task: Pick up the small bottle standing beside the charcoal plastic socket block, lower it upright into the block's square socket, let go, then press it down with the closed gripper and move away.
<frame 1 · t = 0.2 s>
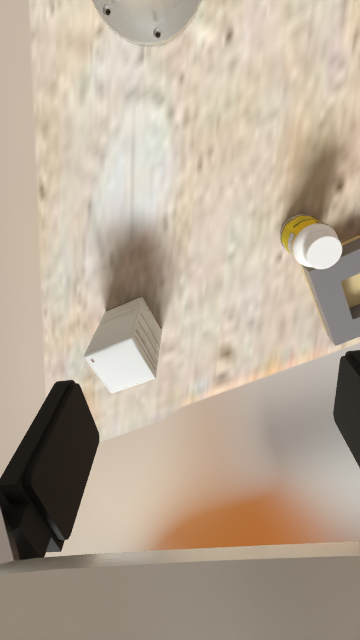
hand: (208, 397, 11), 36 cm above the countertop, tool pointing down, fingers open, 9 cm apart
supplement bottle: (297, 232, 44), on the countertop
socket block: (358, 280, 47), on the countertop
supplement box: (134, 320, 52), on the countertop
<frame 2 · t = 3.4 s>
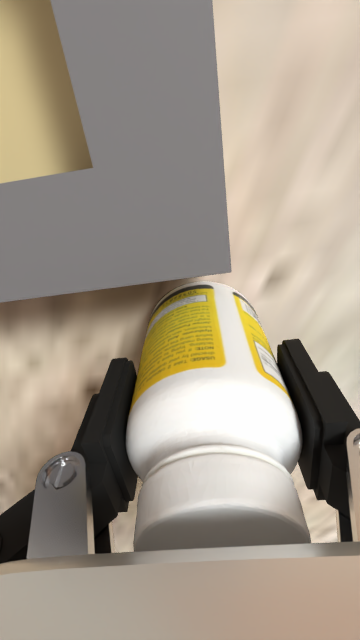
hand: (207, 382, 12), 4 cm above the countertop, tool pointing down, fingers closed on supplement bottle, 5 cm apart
supplement bottle: (202, 326, 15), on the countertop, touching gripper
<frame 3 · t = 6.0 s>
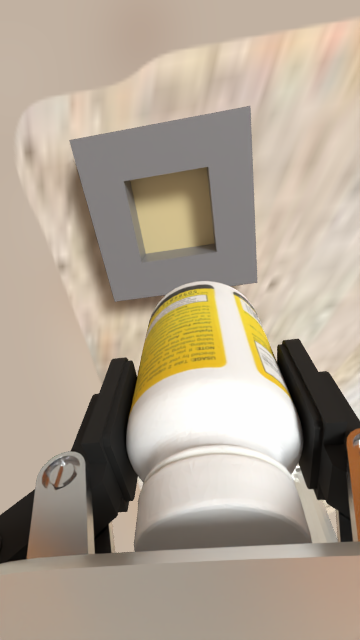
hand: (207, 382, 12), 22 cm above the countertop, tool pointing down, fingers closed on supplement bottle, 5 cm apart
supplement bottle: (203, 326, 15), point 18 cm above the countertop, touching gripper
socket block: (174, 211, 30), on the countertop
when the fingers open (5 cm above the countertop, at t = 8.8 s): supplement bottle stays where it is, resting on socket block.
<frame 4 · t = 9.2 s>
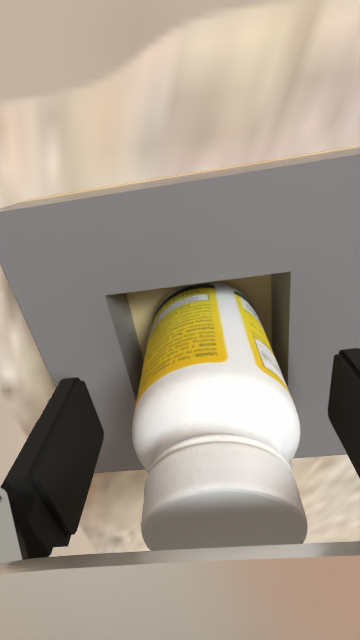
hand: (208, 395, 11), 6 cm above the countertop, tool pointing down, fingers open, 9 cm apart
supplement bottle: (204, 325, 16), point 1 cm above the countertop, touching socket block
socket block: (201, 315, 17), on the countertop
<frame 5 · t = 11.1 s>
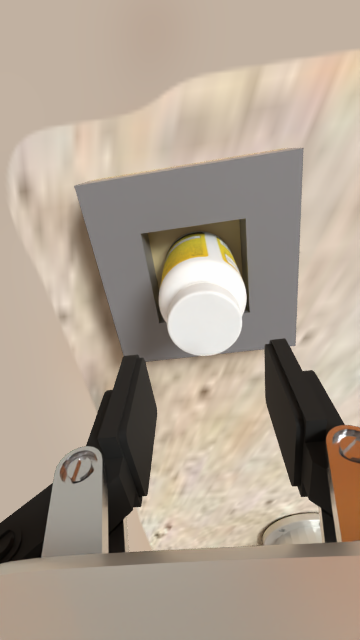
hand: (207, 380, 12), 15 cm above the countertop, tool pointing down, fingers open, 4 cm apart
supplement bottle: (198, 263, 25), point 1 cm above the countertop, touching socket block
socket block: (197, 258, 25), on the countertop
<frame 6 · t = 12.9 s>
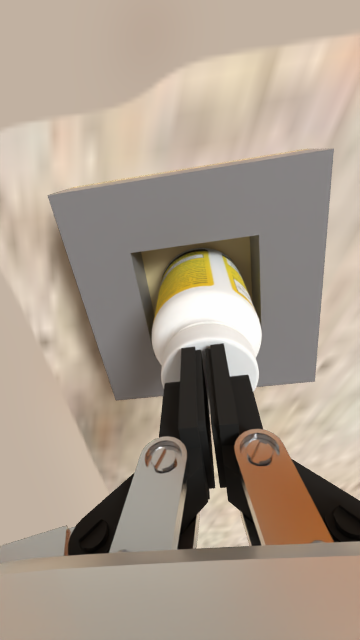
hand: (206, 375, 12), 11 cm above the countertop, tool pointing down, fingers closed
supplement bottle: (200, 284, 21), point 1 cm above the countertop, touching gripper, socket block
socket block: (198, 277, 22), on the countertop
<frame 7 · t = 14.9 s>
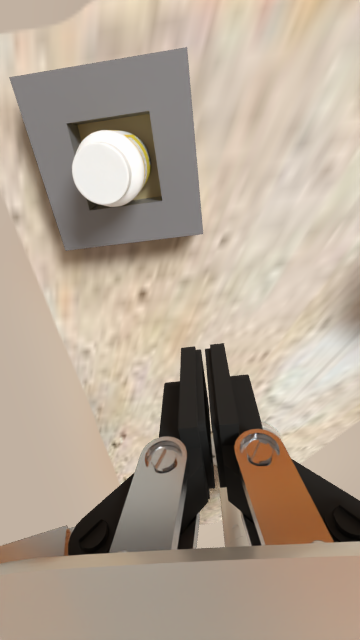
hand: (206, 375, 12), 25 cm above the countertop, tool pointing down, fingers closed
supplement bottle: (124, 163, 30), point 1 cm above the countertop, touching socket block
socket block: (124, 161, 30), on the countertop
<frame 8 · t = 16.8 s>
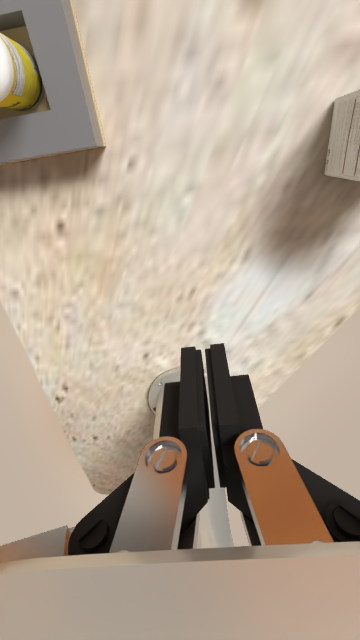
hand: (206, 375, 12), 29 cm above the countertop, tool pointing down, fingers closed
supplement bottle: (19, 79, 30), point 1 cm above the countertop, touching socket block
socket block: (21, 79, 31), on the countertop
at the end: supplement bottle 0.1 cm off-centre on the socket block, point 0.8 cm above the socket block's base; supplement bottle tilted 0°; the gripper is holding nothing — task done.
